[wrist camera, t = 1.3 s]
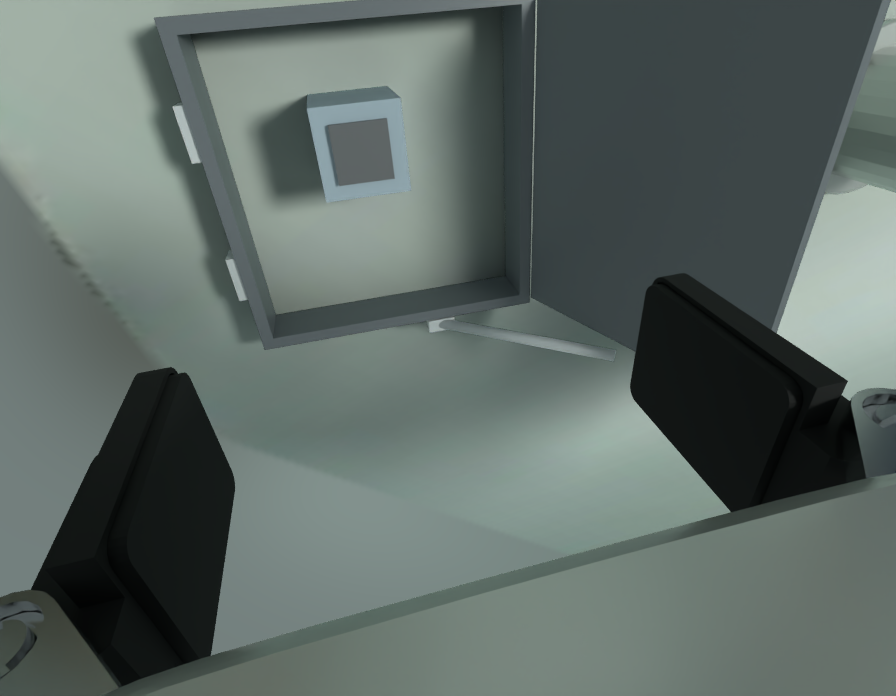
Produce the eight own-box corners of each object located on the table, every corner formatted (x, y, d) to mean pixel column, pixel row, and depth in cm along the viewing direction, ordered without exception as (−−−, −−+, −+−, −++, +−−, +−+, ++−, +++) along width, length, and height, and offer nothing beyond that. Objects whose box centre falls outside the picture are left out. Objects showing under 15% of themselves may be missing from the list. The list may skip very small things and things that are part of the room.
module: (387, 85, 32) (401, 98, 27) (397, 166, 35) (412, 192, 30) (307, 94, 31) (306, 109, 26) (324, 176, 34) (326, 203, 29)
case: (566, -16, 31) (676, -31, 22) (552, 288, 43) (619, 363, 34) (158, 18, 28) (80, 18, 18) (264, 338, 40) (249, 438, 30)
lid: (537, -2, 28) (548, -3, 28) (531, 297, 39) (539, 293, 39) (893, -33, 16) (904, -35, 17) (744, 408, 27) (753, 401, 27)
